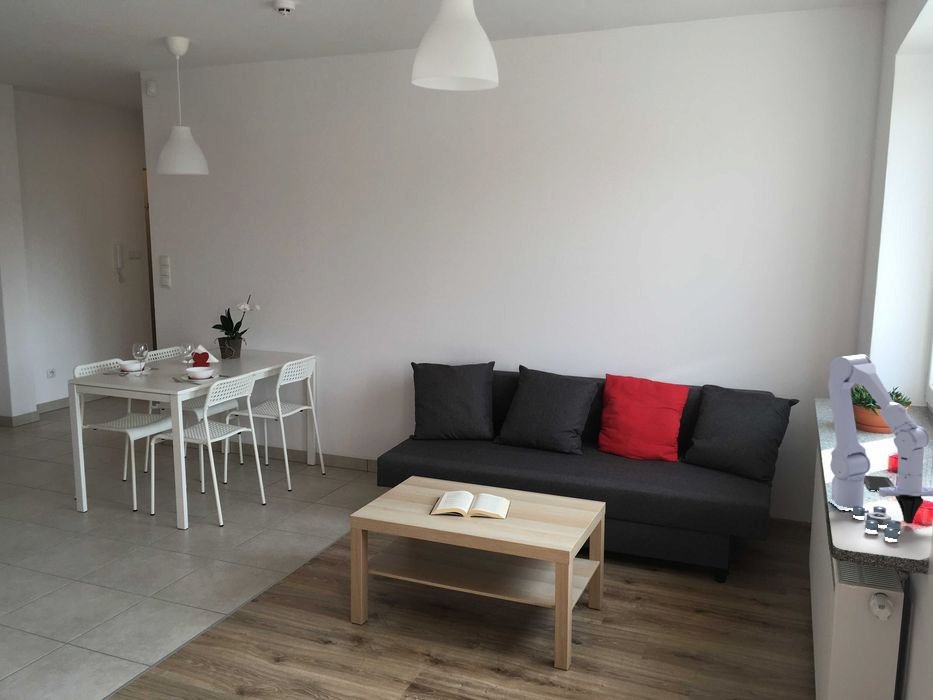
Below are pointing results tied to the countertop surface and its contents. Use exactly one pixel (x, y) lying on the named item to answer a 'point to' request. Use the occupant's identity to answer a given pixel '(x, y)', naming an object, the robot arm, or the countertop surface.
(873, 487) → the phone
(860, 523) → the countertop surface
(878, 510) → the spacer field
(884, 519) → the hex nut
